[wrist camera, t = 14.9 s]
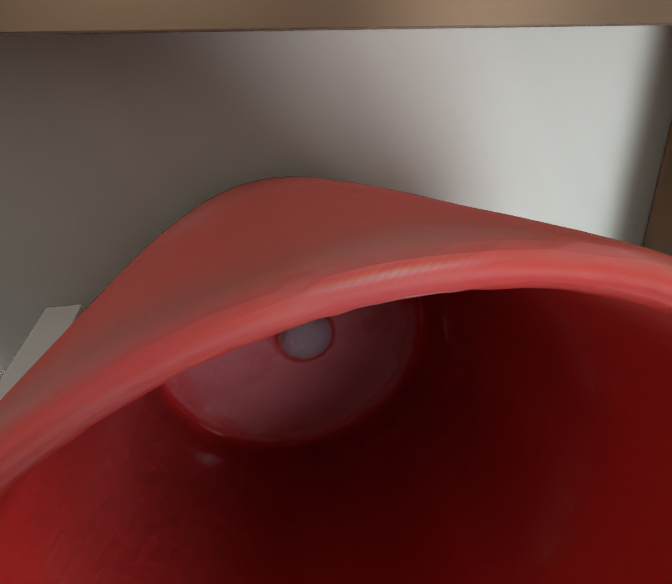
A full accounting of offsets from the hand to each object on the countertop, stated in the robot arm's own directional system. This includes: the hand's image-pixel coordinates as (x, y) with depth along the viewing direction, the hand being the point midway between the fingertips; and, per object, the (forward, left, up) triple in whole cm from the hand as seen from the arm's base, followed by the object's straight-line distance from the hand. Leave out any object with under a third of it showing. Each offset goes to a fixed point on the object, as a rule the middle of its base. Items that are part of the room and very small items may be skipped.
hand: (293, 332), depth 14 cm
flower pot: (0, 0, -1) cm, 1 cm away
